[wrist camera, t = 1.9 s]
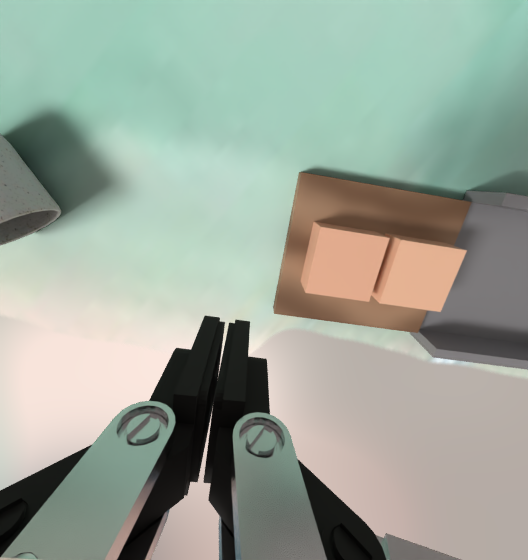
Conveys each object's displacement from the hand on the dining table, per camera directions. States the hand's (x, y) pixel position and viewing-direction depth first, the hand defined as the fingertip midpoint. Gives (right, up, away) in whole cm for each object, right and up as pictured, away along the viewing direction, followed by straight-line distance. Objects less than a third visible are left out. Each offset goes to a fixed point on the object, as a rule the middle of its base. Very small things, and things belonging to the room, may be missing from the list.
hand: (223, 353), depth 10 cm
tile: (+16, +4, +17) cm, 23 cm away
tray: (+29, +3, +19) cm, 35 cm away
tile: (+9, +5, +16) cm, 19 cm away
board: (+12, +5, +18) cm, 22 cm away
